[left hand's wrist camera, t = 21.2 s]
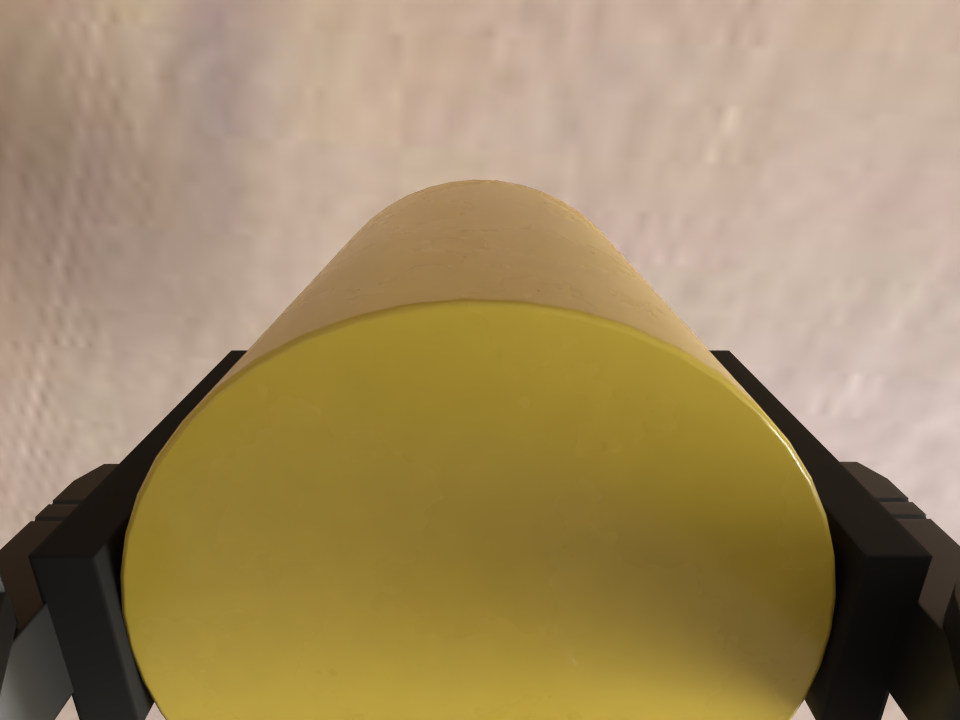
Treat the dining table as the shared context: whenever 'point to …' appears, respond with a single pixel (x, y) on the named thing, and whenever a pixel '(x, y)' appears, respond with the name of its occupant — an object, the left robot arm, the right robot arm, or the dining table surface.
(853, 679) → the left robot arm
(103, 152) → the dining table surface
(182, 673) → the tin
